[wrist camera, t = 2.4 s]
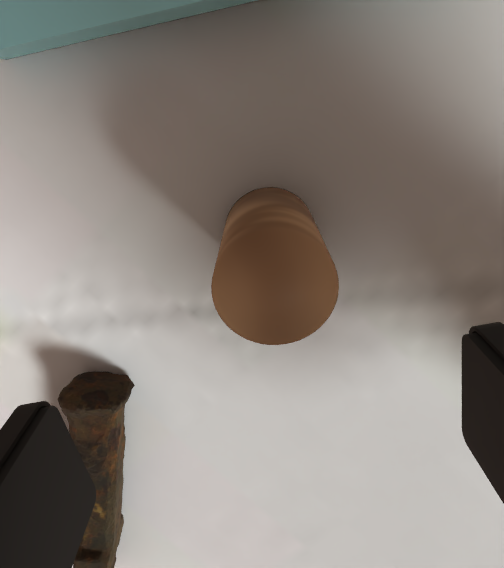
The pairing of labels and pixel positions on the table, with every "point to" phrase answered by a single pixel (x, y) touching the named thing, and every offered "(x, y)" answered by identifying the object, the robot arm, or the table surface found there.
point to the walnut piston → (273, 270)
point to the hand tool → (99, 457)
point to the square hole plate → (86, 20)
